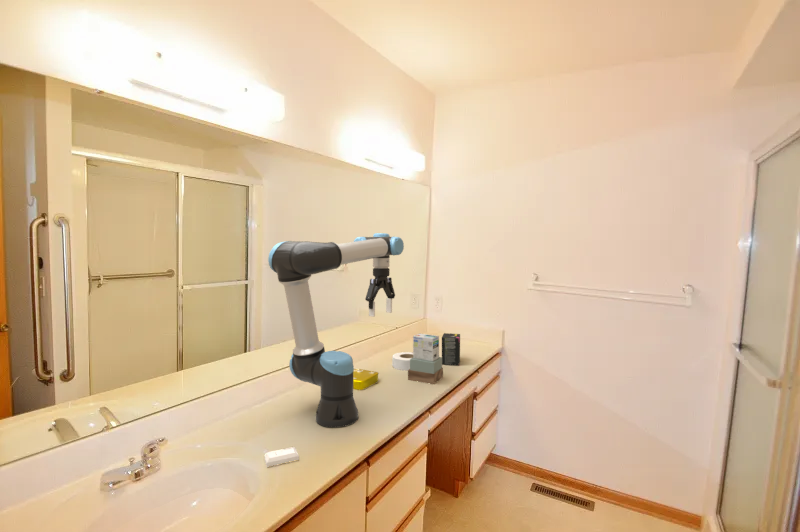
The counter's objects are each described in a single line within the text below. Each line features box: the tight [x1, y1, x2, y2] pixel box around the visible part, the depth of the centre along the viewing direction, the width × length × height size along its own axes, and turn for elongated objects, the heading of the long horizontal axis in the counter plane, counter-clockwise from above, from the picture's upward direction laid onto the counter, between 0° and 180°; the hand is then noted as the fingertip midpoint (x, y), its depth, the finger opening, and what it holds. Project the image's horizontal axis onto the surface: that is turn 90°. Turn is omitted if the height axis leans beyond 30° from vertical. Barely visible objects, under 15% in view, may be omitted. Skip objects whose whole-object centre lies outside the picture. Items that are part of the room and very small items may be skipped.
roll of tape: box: [391, 351, 413, 372], centre depth 209 cm, size 16×16×6 cm
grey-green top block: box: [410, 356, 443, 374], centre depth 189 cm, size 10×12×5 cm
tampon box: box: [441, 332, 461, 367], centre depth 215 cm, size 11×9×15 cm
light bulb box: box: [412, 333, 440, 361], centre depth 189 cm, size 11×7×11 cm, turn 59°
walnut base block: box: [407, 367, 444, 385], centre depth 189 cm, size 11×13×5 cm
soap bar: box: [263, 446, 300, 468], centre depth 118 cm, size 5×9×3 cm, turn 116°
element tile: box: [353, 367, 379, 391], centre depth 184 cm, size 15×15×5 cm
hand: (380, 314), depth 184 cm, fingers open, 13 cm apart
